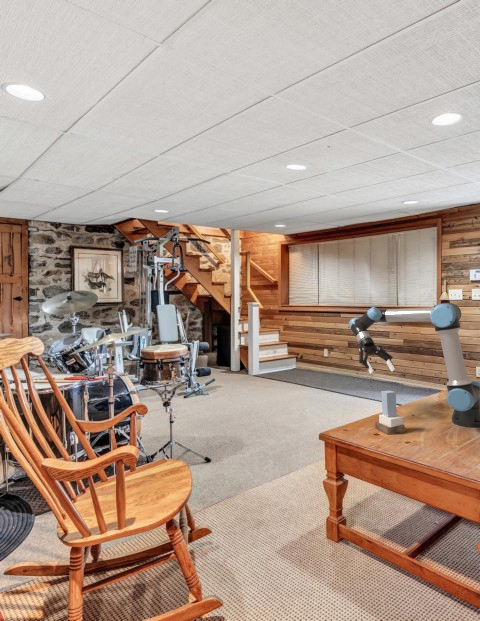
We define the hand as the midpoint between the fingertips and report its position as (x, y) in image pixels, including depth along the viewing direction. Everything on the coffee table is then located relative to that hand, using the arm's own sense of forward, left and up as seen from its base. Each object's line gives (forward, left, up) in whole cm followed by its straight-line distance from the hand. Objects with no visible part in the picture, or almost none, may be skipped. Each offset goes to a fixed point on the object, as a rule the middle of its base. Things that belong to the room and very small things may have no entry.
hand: (382, 371), depth 222 cm
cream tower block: (-7, +11, -24) cm, 27 cm away
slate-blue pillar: (-6, +11, -20) cm, 24 cm away
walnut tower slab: (-6, +11, -28) cm, 31 cm away
